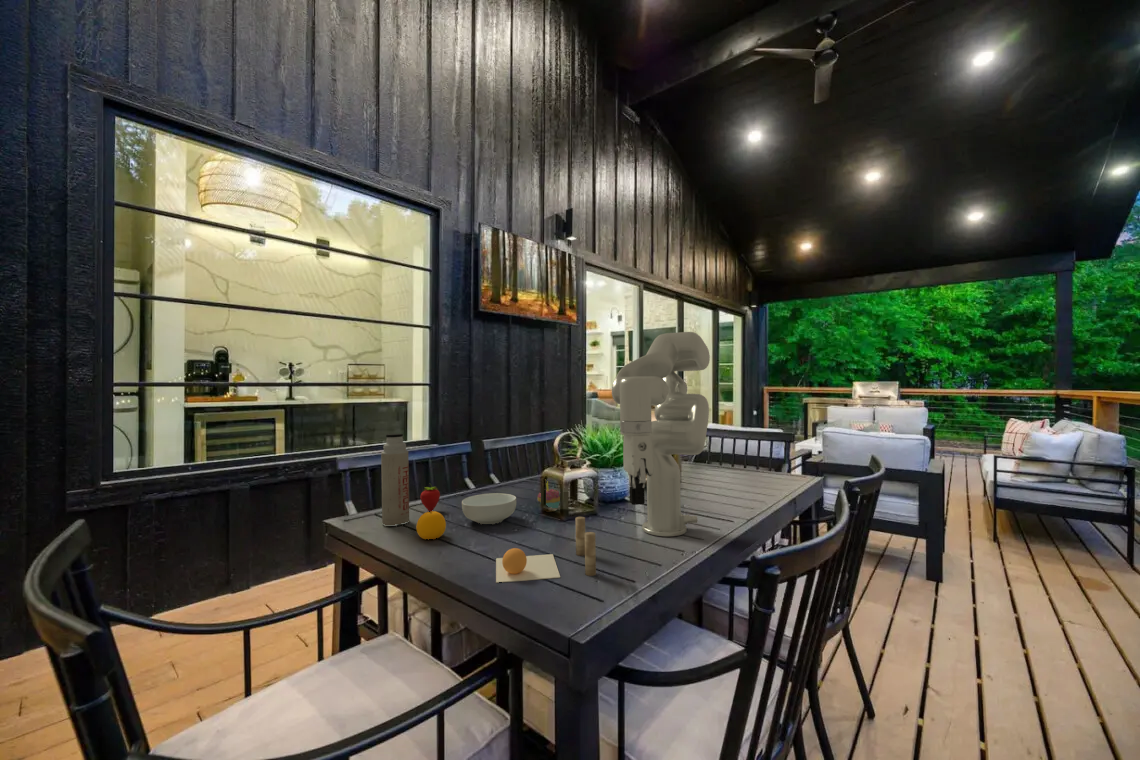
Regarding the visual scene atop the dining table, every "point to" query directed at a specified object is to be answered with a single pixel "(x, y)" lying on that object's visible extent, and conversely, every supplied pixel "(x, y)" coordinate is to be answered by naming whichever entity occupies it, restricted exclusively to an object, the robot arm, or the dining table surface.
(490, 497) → the cereal bowl
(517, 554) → the ball
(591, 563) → the post
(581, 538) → the post
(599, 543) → the dining table surface
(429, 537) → the orange round fruit
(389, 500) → the thermos bottle
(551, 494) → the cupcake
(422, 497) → the strawberry
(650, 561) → the dining table surface
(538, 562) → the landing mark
